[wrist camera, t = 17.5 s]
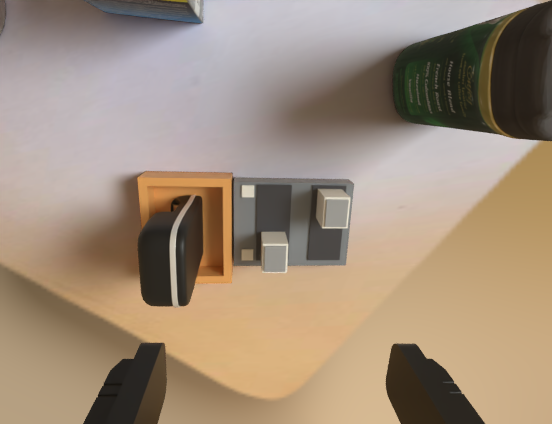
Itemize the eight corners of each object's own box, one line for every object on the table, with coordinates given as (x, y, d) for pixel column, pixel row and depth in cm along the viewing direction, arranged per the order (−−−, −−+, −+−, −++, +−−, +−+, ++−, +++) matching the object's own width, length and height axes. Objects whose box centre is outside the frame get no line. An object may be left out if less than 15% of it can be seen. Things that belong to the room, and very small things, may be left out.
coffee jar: (391, 130, 36) (528, 158, 19) (386, 46, 34) (539, -12, 16) (483, 114, 37) (703, 128, 19) (485, 30, 34) (739, -44, 17)
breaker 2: (315, 217, 36) (322, 229, 33) (317, 188, 35) (325, 197, 32) (339, 217, 36) (348, 229, 33) (341, 189, 35) (351, 198, 32)
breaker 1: (260, 258, 37) (262, 273, 34) (261, 231, 36) (262, 244, 33) (283, 258, 37) (287, 273, 34) (284, 231, 36) (288, 244, 33)
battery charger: (164, 191, 36) (128, 231, 25) (202, 192, 36) (184, 232, 25) (167, 255, 38) (136, 317, 27) (203, 255, 38) (187, 317, 27)
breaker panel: (234, 257, 39) (233, 266, 37) (234, 177, 37) (233, 182, 34) (341, 257, 40) (346, 266, 38) (348, 179, 38) (354, 184, 35)
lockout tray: (153, 270, 39) (146, 283, 36) (146, 171, 36) (137, 177, 33) (232, 270, 40) (231, 283, 37) (232, 172, 36) (231, 178, 34)
